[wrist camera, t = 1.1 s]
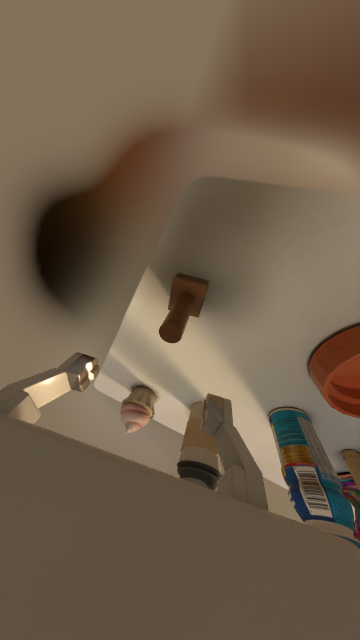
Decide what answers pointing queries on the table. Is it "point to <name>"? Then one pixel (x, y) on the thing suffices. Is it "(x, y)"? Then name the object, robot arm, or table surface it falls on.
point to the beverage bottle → (311, 475)
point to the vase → (352, 499)
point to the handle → (353, 464)
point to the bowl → (339, 371)
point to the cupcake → (137, 409)
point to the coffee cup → (198, 453)
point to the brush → (182, 306)
